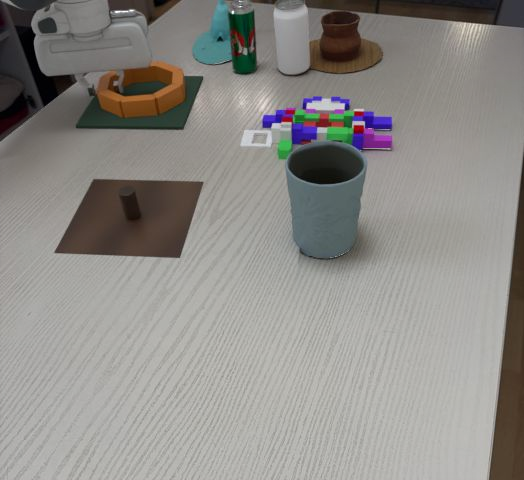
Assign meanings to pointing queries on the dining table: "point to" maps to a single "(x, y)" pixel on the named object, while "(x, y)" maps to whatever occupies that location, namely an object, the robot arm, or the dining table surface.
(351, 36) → the ceramic pot
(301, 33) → the can
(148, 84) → the mat
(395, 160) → the dining table surface
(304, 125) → the building block set
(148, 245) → the ring toss
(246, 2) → the soda can
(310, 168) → the grey blue cup
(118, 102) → the ring
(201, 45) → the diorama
